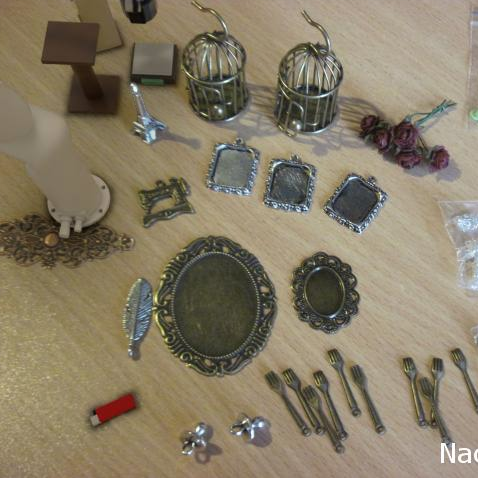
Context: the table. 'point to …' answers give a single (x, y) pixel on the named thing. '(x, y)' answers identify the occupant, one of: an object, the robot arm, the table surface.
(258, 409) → the table surface
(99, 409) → the lighter
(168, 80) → the scale
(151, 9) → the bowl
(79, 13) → the beige tall block
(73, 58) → the stand
